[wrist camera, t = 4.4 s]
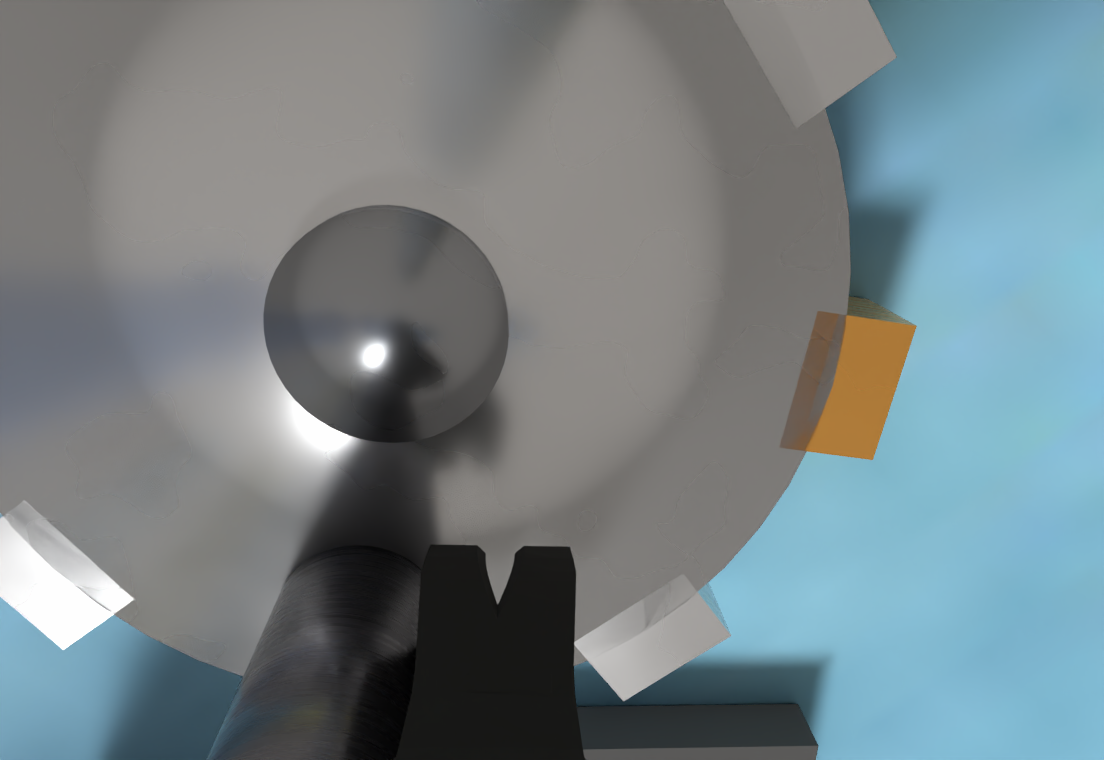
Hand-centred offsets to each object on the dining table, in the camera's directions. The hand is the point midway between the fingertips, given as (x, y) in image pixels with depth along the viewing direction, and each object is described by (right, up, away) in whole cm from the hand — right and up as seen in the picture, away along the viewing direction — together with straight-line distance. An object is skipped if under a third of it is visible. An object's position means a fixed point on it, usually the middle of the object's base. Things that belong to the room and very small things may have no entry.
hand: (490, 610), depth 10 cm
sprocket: (-1, +4, +1) cm, 5 cm away
